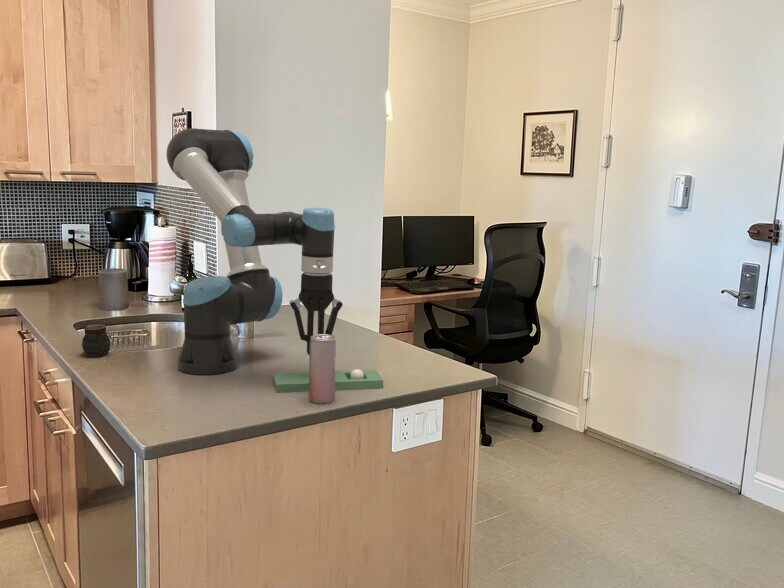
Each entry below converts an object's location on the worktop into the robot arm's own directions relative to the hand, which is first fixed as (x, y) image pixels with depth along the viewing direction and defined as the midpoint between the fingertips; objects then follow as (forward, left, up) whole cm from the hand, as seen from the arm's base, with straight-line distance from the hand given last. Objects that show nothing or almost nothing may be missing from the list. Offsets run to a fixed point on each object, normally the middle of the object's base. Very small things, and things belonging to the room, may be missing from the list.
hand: (314, 367), depth 173 cm
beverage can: (0, -12, -5) cm, 13 cm away
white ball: (+11, -1, -3) cm, 11 cm away
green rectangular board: (+3, -1, -4) cm, 6 cm away
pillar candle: (-60, +96, -5) cm, 113 cm away
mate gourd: (-56, +33, -5) cm, 65 cm away
